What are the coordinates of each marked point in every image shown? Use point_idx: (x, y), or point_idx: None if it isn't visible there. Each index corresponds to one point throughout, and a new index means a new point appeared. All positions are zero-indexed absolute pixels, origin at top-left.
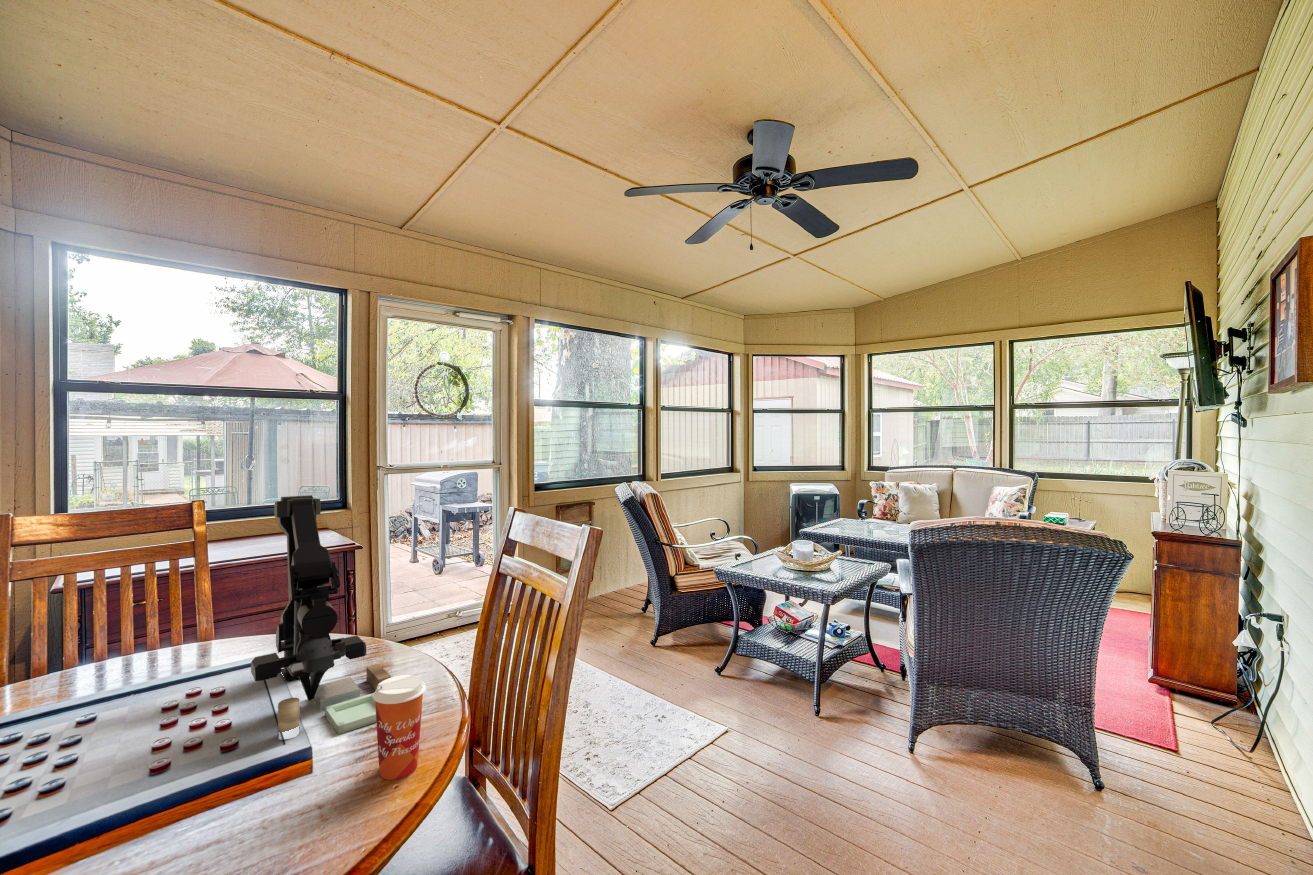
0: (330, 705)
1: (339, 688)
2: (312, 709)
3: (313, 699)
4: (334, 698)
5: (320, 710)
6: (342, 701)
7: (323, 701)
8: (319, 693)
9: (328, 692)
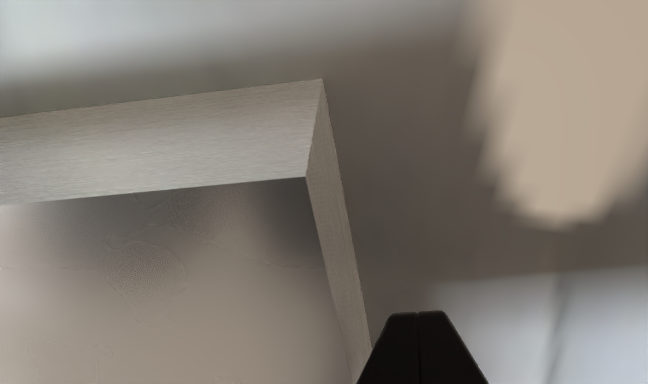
0: (181, 109)
1: (57, 365)
2: (407, 169)
3: None
4: (98, 168)
5: (315, 80)
6: (30, 136)
7: (258, 151)
8: (310, 362)
9: (189, 331)
